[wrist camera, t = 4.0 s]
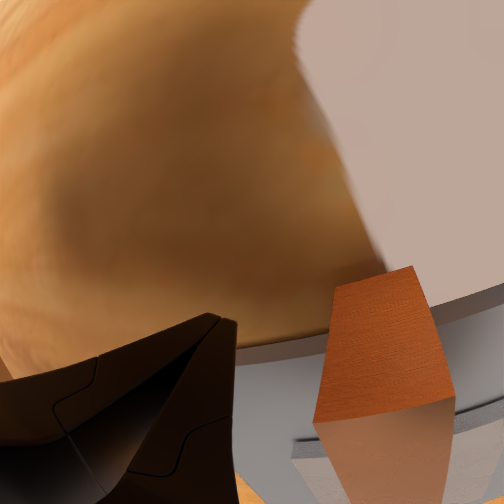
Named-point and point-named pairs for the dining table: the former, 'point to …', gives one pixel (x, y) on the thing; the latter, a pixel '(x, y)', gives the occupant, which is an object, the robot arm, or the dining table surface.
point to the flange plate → (393, 406)
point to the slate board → (308, 383)
